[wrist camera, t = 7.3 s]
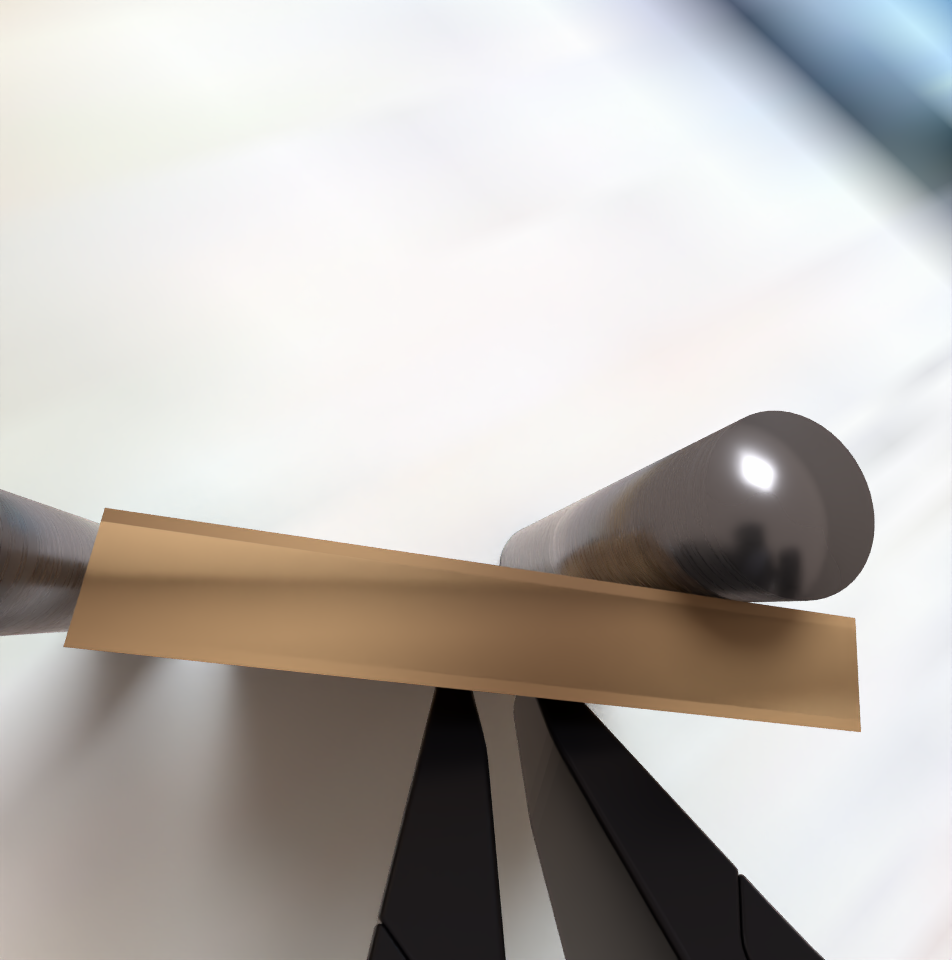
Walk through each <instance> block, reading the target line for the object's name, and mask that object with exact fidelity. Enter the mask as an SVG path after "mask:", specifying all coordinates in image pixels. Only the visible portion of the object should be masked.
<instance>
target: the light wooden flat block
mask: <svg viewBox="0 0 952 960" xmlns="http://www.w3.org/2000/svg"><path fill="white" fill-rule="evenodd" d="M64 647H70V648H79V649H88V650H98V651H107V652H116V653H126V654H135V655H144V656H154V657H163V658H172V659H182V660H191V661H201V662H210V663H219V664H229V665H238V666H247V667H257V668H266V669H275V670H285V671H294V672H304V673H313V674H322V675H332V676H341V677H350V678H360V679H369V680H378V681H388V682H397V683H406V684H416V685H425V686H435V687H444V688H453V689H463V690H472V691H481V692H491V693H500V694H509V695H519V696H528V697H538V698H547V699H556V700H566V701H575V702H584V703H594V704H603V705H612V706H622V707H631V708H641V709H650V710H659V711H669V712H678V713H687V714H697V715H706V716H715V717H725V718H734V719H743V720H753V721H762V722H772V723H781V724H790V725H800V726H809V727H818V728H828V729H837V730H846V731H856V732H861V725H860V705H859V685H858V665H857V645H856V625H855V618H850V617H843V616H837V615H830V614H823V613H816V612H809V611H803V610H796V609H789V608H782V607H775V606H769V605H762V604H755V603H748V602H740V601H735V600H728V599H721V598H714V597H707V596H701V595H694V594H687V593H680V592H673V591H667V590H660V589H653V588H646V587H639V586H633V585H626V584H619V583H612V582H605V581H599V580H592V579H585V578H578V577H571V576H565V575H558V574H551V573H544V572H537V571H531V570H524V569H517V568H510V567H503V566H497V565H490V564H483V563H476V562H469V561H463V560H456V559H449V558H442V557H435V556H429V555H422V554H415V553H408V552H401V551H395V550H388V549H381V548H374V547H367V546H361V545H354V544H347V543H340V542H333V541H327V540H320V539H313V538H306V537H299V536H293V535H286V534H279V533H272V532H265V531H259V530H252V529H245V528H238V527H231V526H225V525H218V524H211V523H204V522H197V521H191V520H184V519H177V518H170V517H163V516H157V515H150V514H143V513H136V512H129V511H123V510H116V509H109V508H105V509H104V513H103V516H102V520H101V523H100V526H99V530H98V533H97V536H96V540H95V543H94V546H93V550H92V553H91V556H90V560H89V563H88V566H87V570H86V573H85V576H84V580H83V583H82V586H81V590H80V593H79V597H78V600H77V603H76V607H75V610H74V613H73V617H72V620H71V623H70V627H69V630H68V633H67V637H66V640H65V643H64Z"/></svg>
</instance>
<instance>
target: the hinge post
mask: <svg viewBox="0 0 952 960" xmlns="http://www.w3.org/2000/svg"><path fill="white" fill-rule="evenodd" d="M99 526H100V524H99V523H96V522H93V521H90V520H88V519H85V518H82V517H79V516H76V515H73V514H70V513H67V512H64V511H62V510H59V509H56V508H53V507H50V506H47V505H44V504H41V503H39V502H36V501H33V500H30V499H27V498H24V497H21V496H18V495H15V494H13V493H10V492H7V491H4V490H1V489H0V636H6V635H21V634H37V633H52V632H67V631H68V630H69V627H70V623H71V620H72V617H73V613H74V610H75V607H76V603H77V600H78V597H79V593H80V590H81V586H82V583H83V580H84V576H85V573H86V570H87V566H88V563H89V560H90V556H91V553H92V550H93V546H94V543H95V540H96V536H97V533H98V530H99Z"/></svg>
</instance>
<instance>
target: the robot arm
mask: <svg viewBox="0 0 952 960" xmlns="http://www.w3.org/2000/svg"><path fill="white" fill-rule="evenodd" d="M514 721H515V727H516V734H517V741H518V747H519V754H520V760H521V767H522V773H523V780H524V786H525V793H526V800H527V806H528V812H529V818H530V823H531V828H532V832H533V836H534V840H535V844H536V848H537V852H538V856H539V860H540V863H541V867H542V871H543V875H544V879H545V883H546V886H547V890H548V894H549V898H550V902H551V906H552V909H553V913H554V917H555V921H556V925H557V929H558V932H559V936H560V940H561V944H562V948H563V952H564V955H565V959H566V960H825V959H824V958H823V957H822V956H821V955H820V954H819V953H818V952H817V951H816V950H814V949H813V948H812V947H811V946H810V945H809V944H808V942H807V941H806V940H805V939H804V938H803V937H802V936H801V935H800V934H799V933H798V932H797V931H796V930H795V929H794V928H793V927H792V926H791V925H790V924H789V923H788V922H787V921H786V920H785V919H784V917H783V916H782V915H781V914H780V913H779V912H778V911H777V910H776V909H775V908H774V907H773V906H772V905H771V904H770V903H769V902H768V901H767V900H766V899H765V898H764V896H763V895H762V894H761V893H760V892H759V891H758V890H757V889H756V888H755V887H754V886H753V885H752V883H751V882H750V881H749V880H748V879H747V878H746V877H745V876H744V875H742V874H739V875H738V869H737V868H736V867H735V865H734V864H733V863H732V862H731V861H730V860H729V859H728V858H727V857H726V856H725V855H724V854H723V852H722V851H721V850H720V849H719V848H718V847H717V846H716V845H715V844H714V843H713V842H712V841H711V840H710V838H709V837H708V836H707V835H706V834H705V833H704V832H703V831H702V830H701V829H700V828H699V827H698V825H697V824H696V823H695V822H694V821H693V820H692V819H691V818H690V817H689V816H688V815H687V814H686V812H685V811H684V810H683V809H682V808H681V807H680V806H679V805H678V804H677V803H676V802H675V801H674V800H673V798H672V797H671V796H670V795H669V794H668V793H667V792H666V791H665V790H664V789H663V788H662V787H661V785H660V784H659V783H658V782H657V781H656V780H655V779H654V778H653V777H652V776H651V775H650V774H649V772H648V771H647V770H646V769H645V768H644V767H643V766H642V765H641V764H640V763H639V762H638V761H637V760H636V758H635V757H634V756H633V755H632V754H631V753H630V752H629V751H628V750H627V749H626V748H625V747H624V745H623V744H622V743H621V742H620V741H619V740H618V739H617V738H616V737H615V736H614V735H613V734H612V732H611V731H610V730H609V729H608V728H607V727H606V726H605V725H604V724H603V723H602V722H601V721H600V720H599V718H598V717H597V716H596V715H595V714H594V713H593V712H592V711H591V710H590V709H589V708H588V707H587V705H586V704H585V703H584V702H575V701H566V700H556V699H547V698H538V697H528V696H519V695H516V696H515V701H514ZM367 960H506V958H505V947H504V935H503V924H502V913H501V901H500V890H499V879H498V867H497V856H496V844H495V833H494V822H493V810H492V799H491V788H490V776H489V765H488V756H487V748H486V743H485V739H484V734H483V730H482V726H481V722H480V719H479V715H478V711H477V707H476V703H475V699H474V695H473V691H472V690H463V689H453V688H444V687H435V691H434V695H433V699H432V703H431V707H430V711H429V715H428V719H427V723H426V727H425V731H424V735H423V739H422V743H421V746H420V750H419V754H418V758H417V762H416V766H415V770H414V774H413V778H412V782H411V786H410V790H409V794H408V798H407V802H406V806H405V810H404V814H403V818H402V822H401V826H400V830H399V834H398V838H397V842H396V846H395V850H394V854H393V858H392V862H391V866H390V870H389V874H388V878H387V882H386V886H385V890H384V894H383V898H382V902H381V906H380V910H379V914H378V919H377V925H376V926H375V928H374V932H373V936H372V940H371V944H370V948H369V952H368V956H367Z"/></svg>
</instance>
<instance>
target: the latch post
mask: <svg viewBox="0 0 952 960" xmlns="http://www.w3.org/2000/svg"><path fill="white" fill-rule="evenodd" d="M873 537H874V509H873V503H872V499H871V494H870V491H869V488H868V485H867V482H866V480H865V478H864V475H863V473H862V471H861V469H860V467H859V466H858V464H857V462H856V461H855V459H854V458H853V456H852V455H851V453H850V452H849V451H848V449H847V448H846V447H845V446H844V445H843V444H842V443H841V442H840V441H839V440H838V439H837V438H836V437H835V436H834V435H833V434H832V433H831V432H829V431H828V430H827V429H825V428H824V427H823V426H821V425H819V424H818V423H816V422H814V421H812V420H810V419H808V418H806V417H803V416H801V415H797V414H794V413H790V412H784V411H765V412H759V413H755V414H752V415H749V416H747V417H745V418H743V419H741V420H739V421H737V422H735V423H733V424H731V425H729V426H727V427H725V428H723V429H721V430H719V431H717V432H715V433H713V434H711V435H709V436H707V437H705V438H703V439H701V440H699V441H697V442H695V443H693V444H691V445H689V446H687V447H685V448H683V449H681V450H679V451H677V452H675V453H673V454H671V455H669V456H667V457H665V458H663V459H661V460H659V461H657V462H655V463H653V464H651V465H649V466H647V467H645V468H643V469H641V470H639V471H637V472H635V473H633V474H631V475H629V476H627V477H625V478H623V479H621V480H619V481H617V482H615V483H613V484H611V485H609V486H607V487H605V488H603V489H601V490H599V491H597V492H595V493H593V494H591V495H589V496H587V497H585V498H583V499H581V500H579V501H577V502H575V503H573V504H571V505H569V506H567V507H565V508H563V509H561V510H559V511H557V512H555V513H553V514H551V515H549V516H547V517H545V518H543V519H541V520H539V521H537V522H535V523H533V524H531V525H529V526H527V527H525V528H523V529H521V530H519V531H518V532H516V533H515V534H514V535H513V536H512V537H511V538H510V539H509V540H508V541H507V543H506V545H505V547H504V549H503V552H502V555H501V562H500V566H503V567H510V568H517V569H524V570H531V571H537V572H544V573H551V574H558V575H565V576H571V577H578V578H585V579H592V580H599V581H605V582H612V583H619V584H626V585H633V586H639V587H646V588H653V589H660V590H667V591H673V592H680V593H687V594H694V595H701V596H707V597H714V598H721V599H728V600H735V601H740V602H776V601H809V600H818V599H823V598H827V597H829V596H832V595H834V594H836V593H838V592H840V591H841V590H843V589H844V588H846V587H847V586H848V585H849V584H850V583H852V582H853V581H854V580H855V578H856V577H857V576H858V575H859V573H860V572H861V571H862V569H863V567H864V565H865V564H866V562H867V559H868V557H869V554H870V551H871V547H872V543H873Z"/></svg>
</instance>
